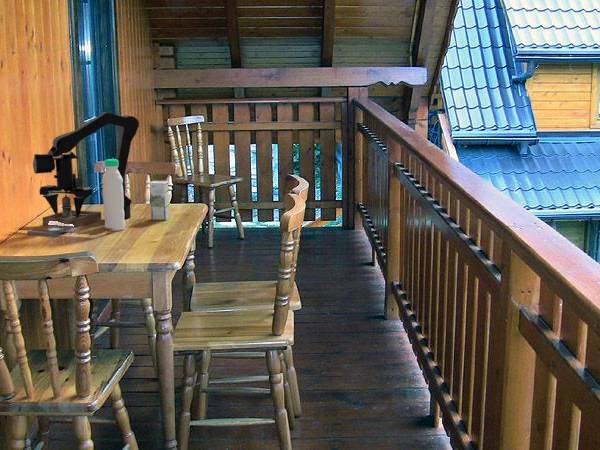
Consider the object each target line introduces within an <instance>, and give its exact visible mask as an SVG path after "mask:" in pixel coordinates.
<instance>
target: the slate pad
mask: <svg viewBox="0 0 600 450" xmlns="http://www.w3.org/2000/svg"><path fill="white" fill-rule="evenodd" d="M67 232H68V231H58V230H57V231H55V230H43V229H31V230H28V231H26V234H27V235H31V236H42V237H43V236H45V237H59V236H62V235H65V233H66V234H68V233H67Z"/></svg>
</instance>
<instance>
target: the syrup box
mask: <svg viewBox="0 0 600 450" xmlns="http://www.w3.org/2000/svg"><path fill="white" fill-rule="evenodd" d="M149 192H150V193H149V194H150V195H149V196H150V198H149V199H150V214H151V215H150V216H151V217H150V218H151V221H167V220H169V219H170V201H169V199H170V198H169V196H170V195H169V181H168V180H151V181H150V182H149Z"/></svg>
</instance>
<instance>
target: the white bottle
mask: <svg viewBox="0 0 600 450" xmlns="http://www.w3.org/2000/svg"><path fill="white" fill-rule="evenodd" d="M118 165H119V162H118V160H117V159H115V158H110V159H109V158H107V159H105V160H104V167H105V168H106V169H105V172H104V175H103V177H102V181H101V183H102V197H103V208H104V210H103V211H104V212H103V216H104V228H105V229H106V231H107V232H120V231H123V230H125V229H126V221H125V220H124V216H125V214H124V195H123V185H122V183H123V179H122V177H121V175H120V173H119V171H118V169H117V168H118Z"/></svg>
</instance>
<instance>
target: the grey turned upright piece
mask: <svg viewBox="0 0 600 450" xmlns="http://www.w3.org/2000/svg"><path fill="white" fill-rule="evenodd" d="M61 202H62V203H61V204H62V206H61V208H62V212H63V214H62V216H61V217H59V218H66V219H75V218H76V217H75V216H73V215H72V213H71V210H72V207H73V206H72V205H71V204H72V202H71V198H70V196H67V194H64V197H62V199H61Z"/></svg>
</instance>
